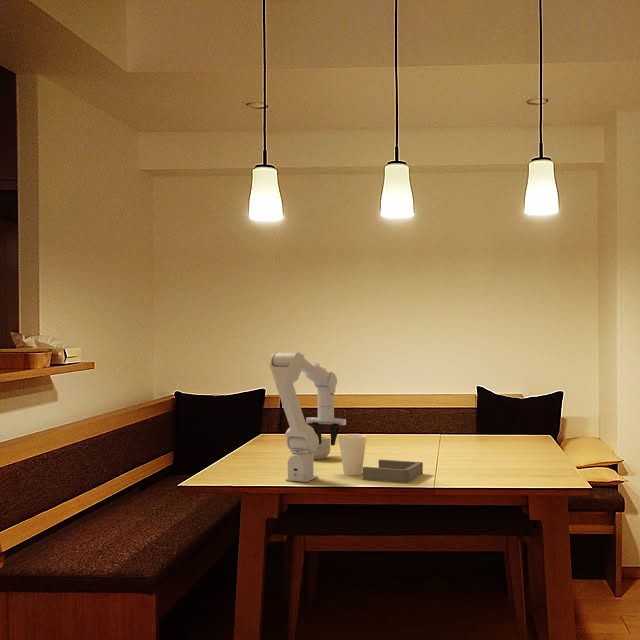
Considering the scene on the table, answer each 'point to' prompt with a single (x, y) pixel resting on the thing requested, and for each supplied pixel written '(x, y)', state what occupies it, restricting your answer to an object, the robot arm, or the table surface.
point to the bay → (394, 471)
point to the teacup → (322, 449)
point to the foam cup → (352, 453)
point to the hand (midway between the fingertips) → (326, 444)
